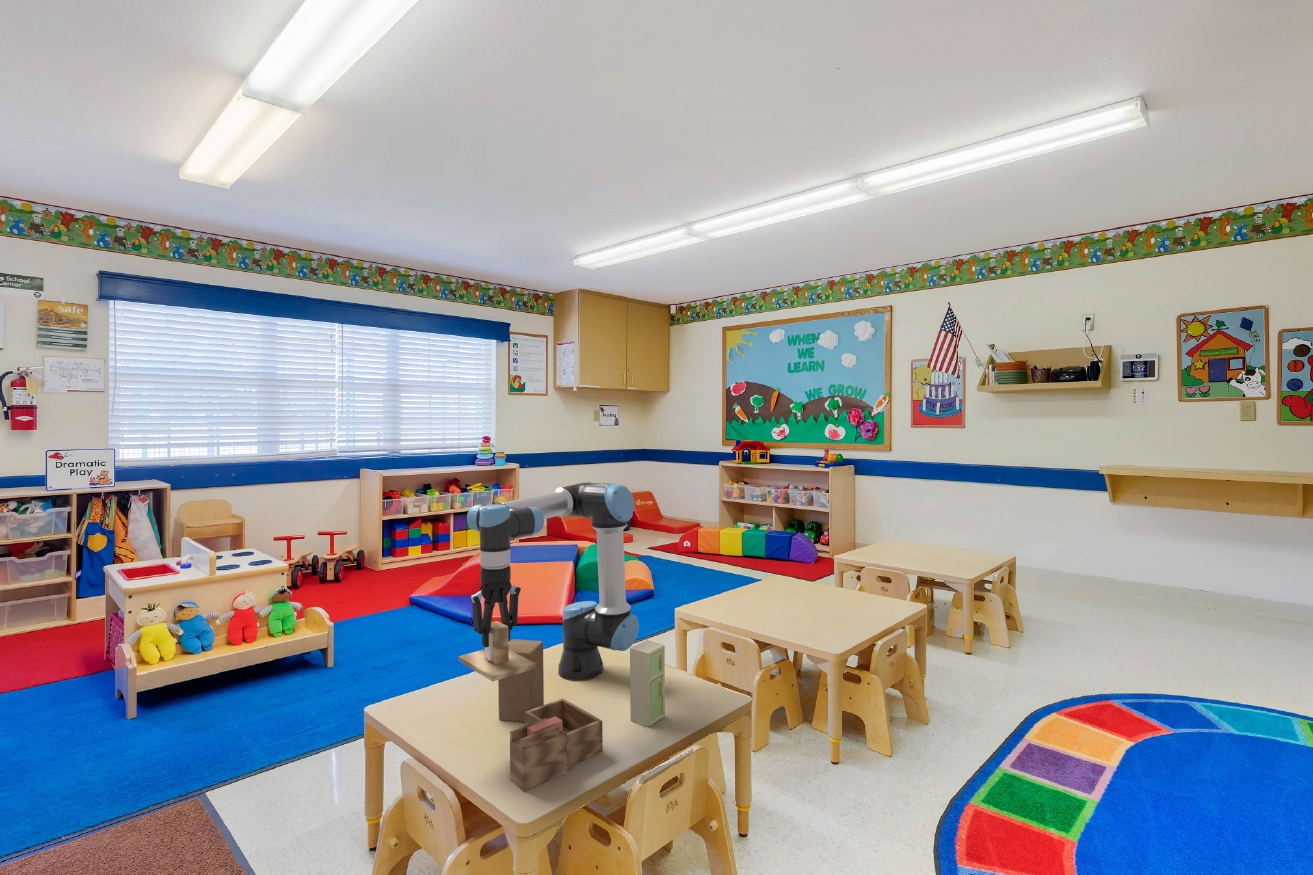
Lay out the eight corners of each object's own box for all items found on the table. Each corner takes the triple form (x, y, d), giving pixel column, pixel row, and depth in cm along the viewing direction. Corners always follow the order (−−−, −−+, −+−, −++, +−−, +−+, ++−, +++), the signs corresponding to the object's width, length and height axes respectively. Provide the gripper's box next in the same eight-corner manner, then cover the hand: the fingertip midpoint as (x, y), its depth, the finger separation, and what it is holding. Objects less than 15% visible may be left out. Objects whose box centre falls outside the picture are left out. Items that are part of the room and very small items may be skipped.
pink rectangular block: (555, 726, 156) (555, 716, 155) (562, 730, 153) (562, 720, 153) (527, 737, 150) (527, 726, 150) (533, 742, 148) (533, 731, 148)
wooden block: (531, 723, 177) (530, 652, 177) (498, 720, 179) (497, 650, 179) (544, 707, 187) (543, 640, 186) (513, 704, 189) (512, 638, 188)
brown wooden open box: (563, 726, 175) (562, 684, 175) (606, 753, 161) (605, 707, 160) (483, 758, 159) (482, 711, 159) (523, 791, 145) (522, 740, 144)
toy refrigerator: (650, 728, 174) (649, 653, 173) (629, 720, 178) (629, 647, 178) (667, 717, 180) (667, 644, 179) (647, 710, 184) (646, 639, 184)
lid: (500, 649, 172) (499, 612, 172) (535, 668, 159) (535, 628, 159) (458, 660, 164) (458, 622, 164) (492, 681, 151) (492, 639, 151)
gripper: (516, 558, 169) (517, 644, 170) (458, 568, 158) (459, 660, 159) (531, 563, 164) (532, 652, 165) (472, 573, 153) (473, 669, 153)
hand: (496, 656), depth 162 cm, fingers closed on lid, 3 cm apart
